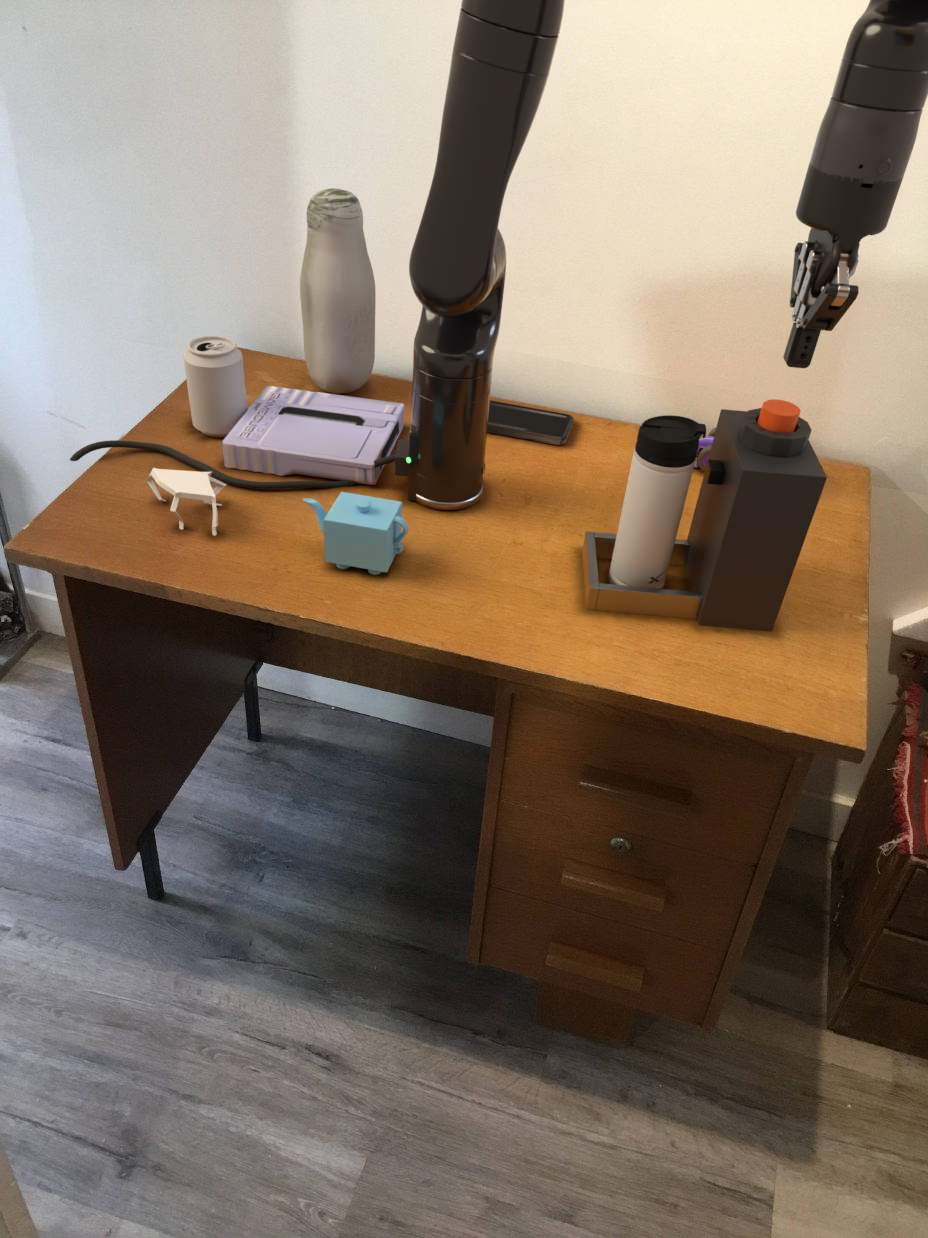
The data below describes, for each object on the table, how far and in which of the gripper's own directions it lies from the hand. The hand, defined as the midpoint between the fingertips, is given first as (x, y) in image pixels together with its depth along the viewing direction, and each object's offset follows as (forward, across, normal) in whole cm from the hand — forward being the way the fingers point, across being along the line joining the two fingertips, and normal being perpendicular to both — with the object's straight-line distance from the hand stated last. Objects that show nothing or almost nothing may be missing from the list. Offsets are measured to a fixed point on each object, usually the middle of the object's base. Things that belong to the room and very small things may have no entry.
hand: (795, 364), depth 86 cm
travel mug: (+27, 0, -10) cm, 29 cm away
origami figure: (+28, -6, -63) cm, 69 cm away
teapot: (+27, 0, -42) cm, 50 cm away
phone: (+27, -36, -24) cm, 51 cm away
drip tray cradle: (+27, 0, -10) cm, 29 cm away
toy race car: (+27, -30, +7) cm, 41 cm away
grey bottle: (+27, -44, -51) cm, 72 cm away
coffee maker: (+27, 0, 0) cm, 27 cm away
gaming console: (+27, -26, -51) cm, 63 cm away
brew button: (+7, 0, 0) cm, 7 cm away
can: (+27, -28, -65) cm, 76 cm away
